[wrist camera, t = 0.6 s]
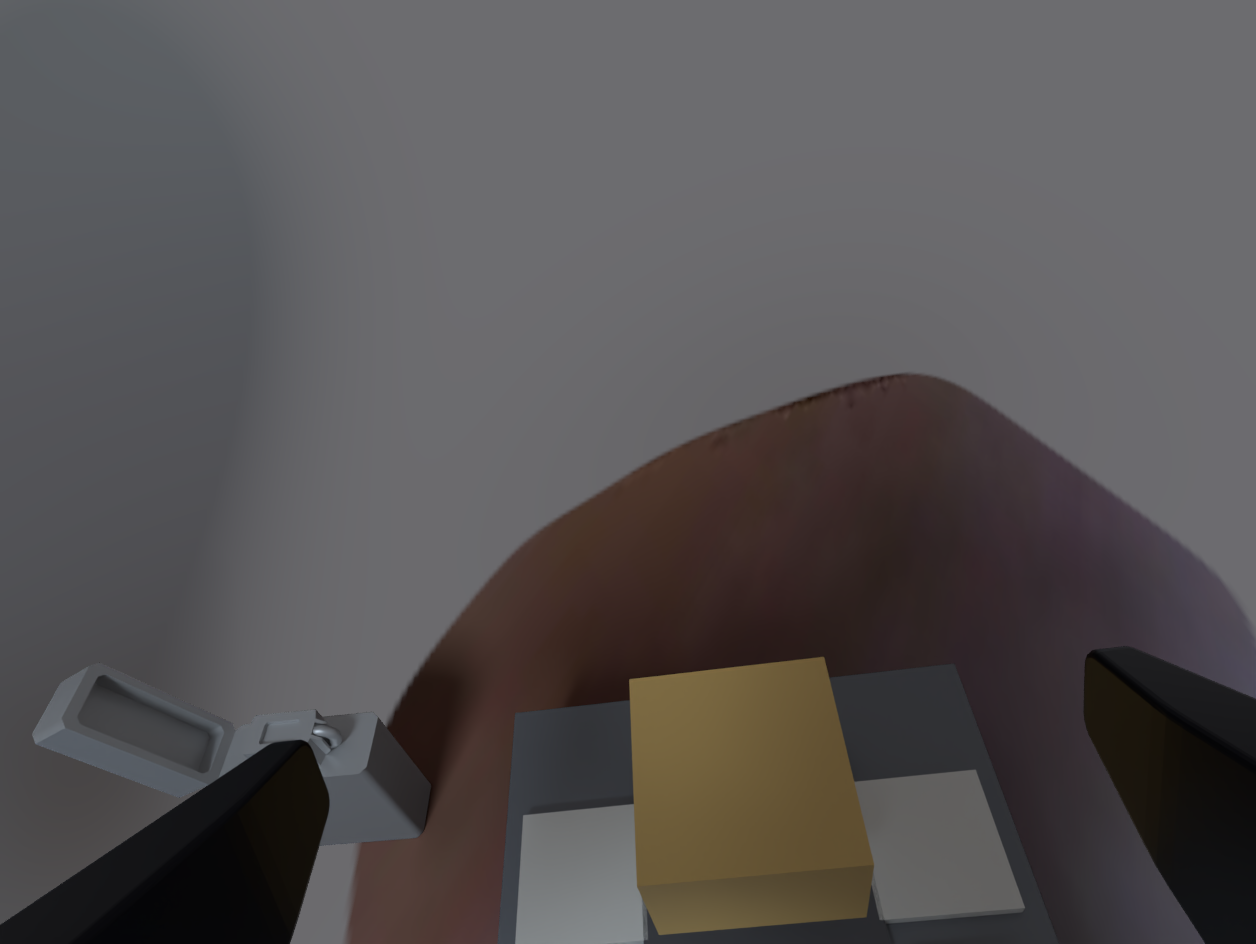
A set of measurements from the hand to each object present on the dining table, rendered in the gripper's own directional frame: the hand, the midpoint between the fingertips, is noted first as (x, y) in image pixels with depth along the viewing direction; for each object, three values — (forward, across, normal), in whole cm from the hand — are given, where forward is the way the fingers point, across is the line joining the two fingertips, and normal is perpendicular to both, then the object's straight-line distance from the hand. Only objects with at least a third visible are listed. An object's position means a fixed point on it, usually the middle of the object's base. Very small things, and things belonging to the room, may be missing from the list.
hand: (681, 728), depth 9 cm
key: (+6, 0, +7) cm, 9 cm away
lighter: (+11, +13, +10) cm, 20 cm away
